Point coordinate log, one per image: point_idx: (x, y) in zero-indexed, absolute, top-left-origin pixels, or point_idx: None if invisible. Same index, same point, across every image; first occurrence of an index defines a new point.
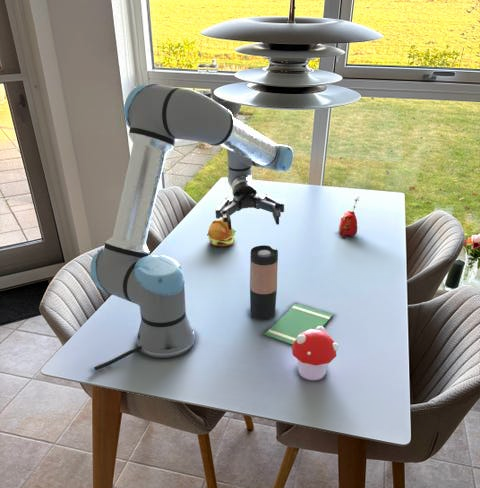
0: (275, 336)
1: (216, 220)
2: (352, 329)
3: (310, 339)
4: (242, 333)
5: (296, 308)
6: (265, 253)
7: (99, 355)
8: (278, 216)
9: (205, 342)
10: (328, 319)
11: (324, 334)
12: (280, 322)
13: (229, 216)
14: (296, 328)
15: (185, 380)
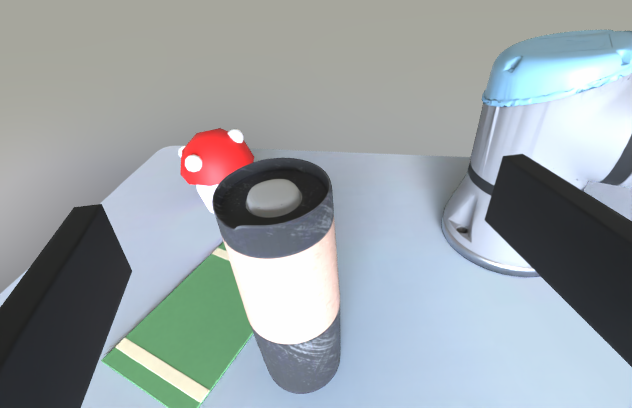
0: None
1: None
2: None
3: (221, 130)
4: (350, 270)
5: (195, 384)
6: (268, 183)
7: (598, 194)
8: (83, 213)
9: (421, 239)
10: (126, 336)
11: (194, 139)
12: None
13: (564, 195)
14: (223, 293)
15: (416, 172)
